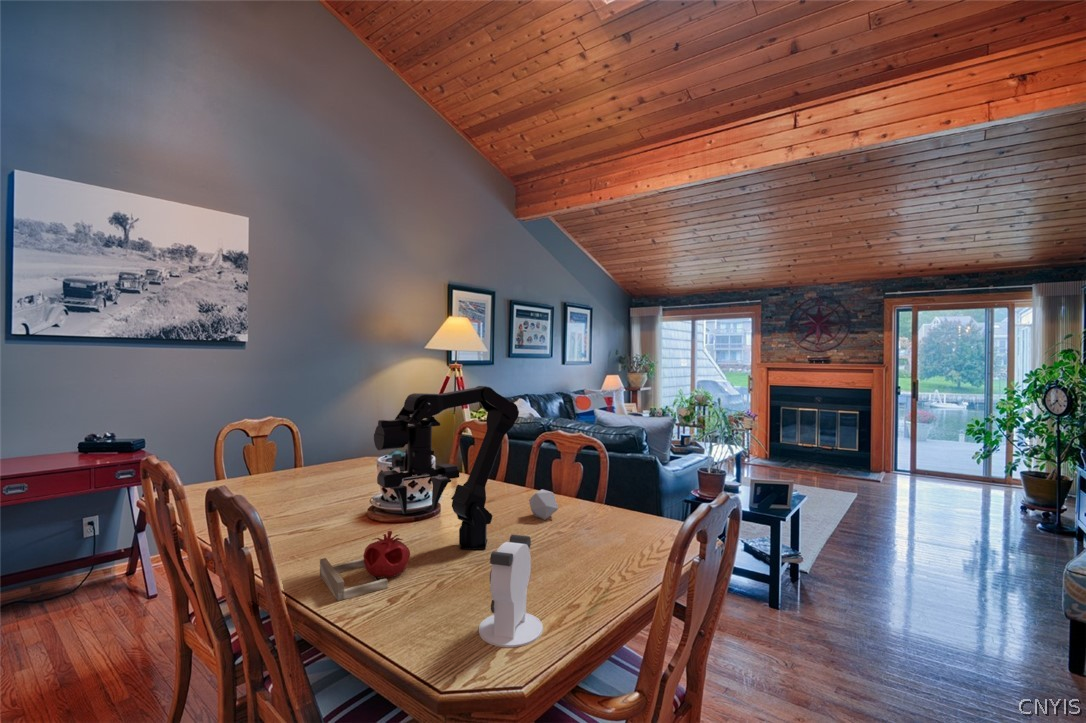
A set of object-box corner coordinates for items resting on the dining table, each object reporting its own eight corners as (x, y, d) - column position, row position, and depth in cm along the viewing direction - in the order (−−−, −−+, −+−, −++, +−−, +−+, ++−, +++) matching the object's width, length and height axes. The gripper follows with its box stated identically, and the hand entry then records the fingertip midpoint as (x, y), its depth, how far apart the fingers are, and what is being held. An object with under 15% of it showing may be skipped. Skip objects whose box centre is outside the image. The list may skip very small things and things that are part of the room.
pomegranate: (373, 563, 116) (374, 523, 116) (415, 564, 116) (415, 524, 116) (355, 581, 106) (356, 537, 106) (401, 582, 106) (402, 539, 106)
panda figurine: (494, 607, 95) (495, 530, 95) (551, 616, 92) (551, 536, 92) (468, 640, 83) (468, 552, 84) (531, 652, 80) (531, 560, 80)
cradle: (365, 564, 115) (365, 549, 115) (387, 587, 103) (387, 570, 103) (319, 575, 109) (319, 559, 109) (337, 601, 97) (337, 582, 97)
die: (564, 520, 152) (560, 489, 158) (550, 512, 145) (547, 480, 151) (539, 527, 154) (536, 496, 160) (525, 519, 148) (523, 488, 154)
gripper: (441, 438, 130) (441, 497, 130) (370, 445, 119) (369, 509, 119) (460, 443, 121) (460, 507, 121) (385, 451, 110) (385, 521, 110)
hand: (419, 510), depth 118 cm, fingers open, 7 cm apart
